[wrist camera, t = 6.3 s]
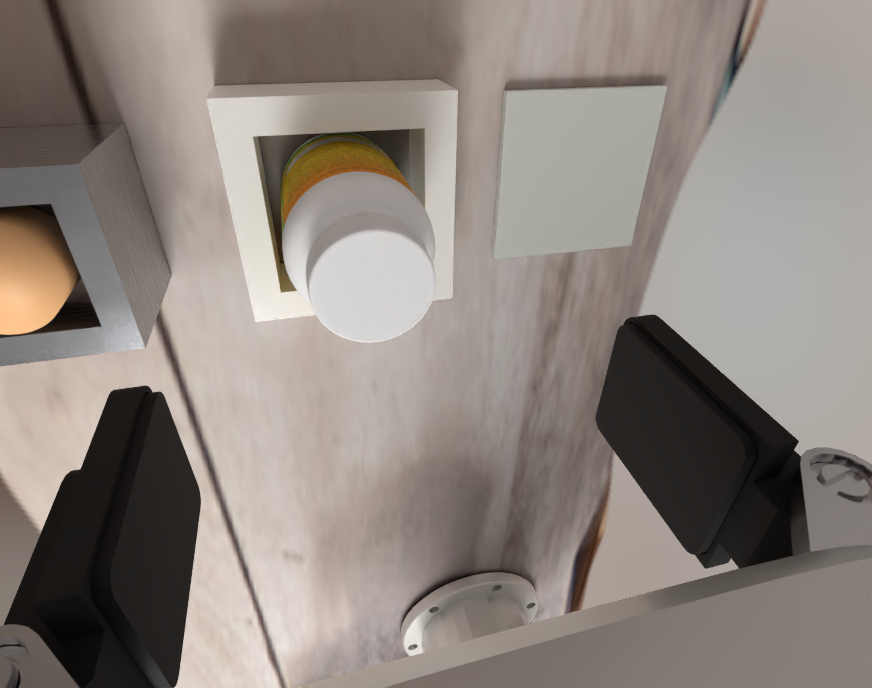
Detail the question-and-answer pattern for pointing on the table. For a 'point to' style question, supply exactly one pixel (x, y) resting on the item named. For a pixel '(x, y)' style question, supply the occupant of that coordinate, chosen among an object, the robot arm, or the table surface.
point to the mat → (573, 167)
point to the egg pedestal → (88, 237)
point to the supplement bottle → (356, 238)
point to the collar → (329, 113)
